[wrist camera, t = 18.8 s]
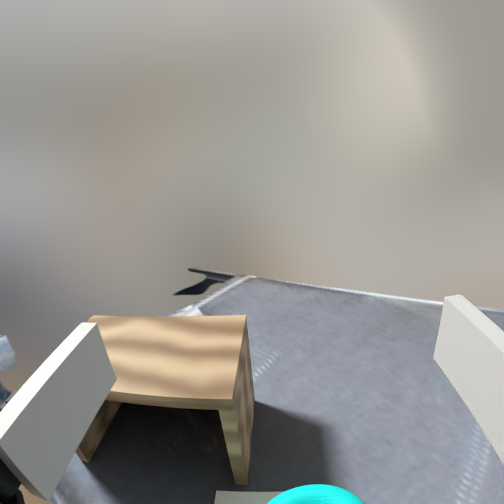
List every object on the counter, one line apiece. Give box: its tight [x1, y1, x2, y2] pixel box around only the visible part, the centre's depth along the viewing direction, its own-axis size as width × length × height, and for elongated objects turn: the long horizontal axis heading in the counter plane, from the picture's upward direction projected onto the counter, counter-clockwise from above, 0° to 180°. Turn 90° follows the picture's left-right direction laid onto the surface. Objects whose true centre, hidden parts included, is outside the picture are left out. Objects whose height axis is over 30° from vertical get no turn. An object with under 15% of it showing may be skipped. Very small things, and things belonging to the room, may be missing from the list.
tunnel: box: [75, 315, 255, 485], centre depth 39 cm, size 18×25×16 cm
